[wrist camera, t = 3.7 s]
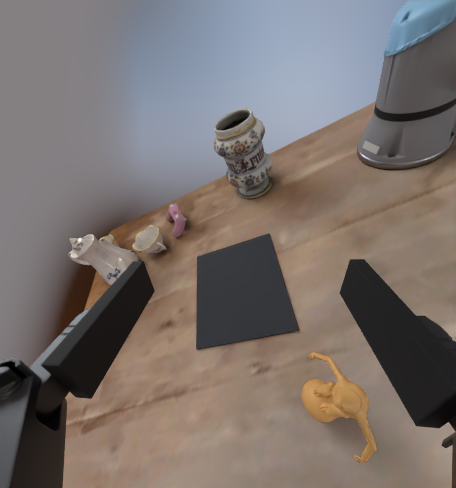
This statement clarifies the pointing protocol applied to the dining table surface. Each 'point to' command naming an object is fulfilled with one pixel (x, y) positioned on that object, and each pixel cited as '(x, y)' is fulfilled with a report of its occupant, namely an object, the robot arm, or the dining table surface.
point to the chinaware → (114, 252)
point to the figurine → (339, 403)
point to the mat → (241, 295)
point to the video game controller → (176, 219)
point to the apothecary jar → (244, 152)
